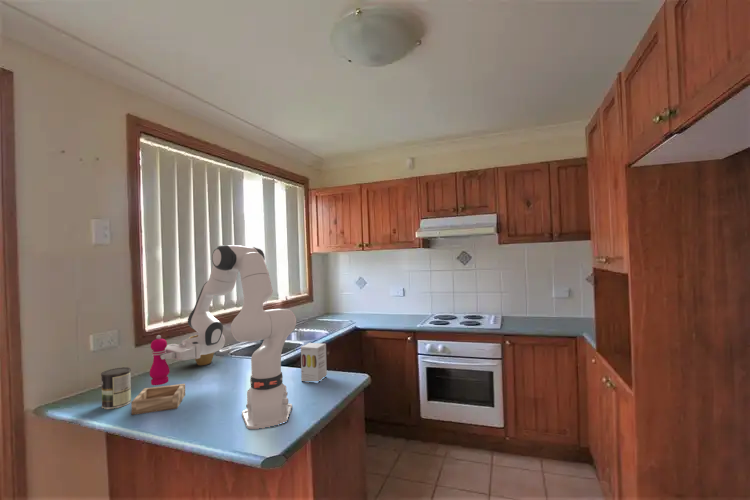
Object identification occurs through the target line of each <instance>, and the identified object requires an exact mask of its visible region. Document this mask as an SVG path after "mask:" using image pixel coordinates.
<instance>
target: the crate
mask: <svg viewBox="0 0 750 500" xmlns="http://www.w3.org/2000/svg"><path fill="white" fill-rule="evenodd" d="M185 396H186V383H177V384H170V385H162V386H161V385H159V386H154V387H144V388H143V389H142V390H141V391H140V392H139V393H138V395H136V397H134V399H133V400H131V402H130V404H131V406H130V407H131V415H132V416H133V415H139V414H141V415H142V414H148V413H154V412H155V413H156V412H163V411H169V410H170V411H171V410H177V409H178V408H179V406H180V405H181V403H182V402H183V399H184V398H185Z"/></svg>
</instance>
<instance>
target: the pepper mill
mask: <svg viewBox="0 0 750 500" xmlns="http://www.w3.org/2000/svg"><path fill="white" fill-rule="evenodd" d="M155 338H156V339H154V340H152V341H151V343H150V349H151V350H152V352H151V353H152V355H153V357H152V358H153V359H152V360H153V361H152V365H151V367H150V369H149V377H150V378H152V379H151V380H150V384H151V385H152V386H161V385H165V384H167V383H169V376H168V375H169V374H170V366H169V365H168V363H167V360H166V359H160V355H162V354H165V353H166V349H165V348H166V347H167V345H168V343H167V340H166V339H164V338H162V335H160V334H158V335H156V337H155Z"/></svg>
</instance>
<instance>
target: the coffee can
mask: <svg viewBox="0 0 750 500" xmlns="http://www.w3.org/2000/svg"><path fill="white" fill-rule="evenodd" d="M131 370H132V368H131V367H128V366H127V367H115V368H110V369H108V370H104V371H103V372H101V373H100V376H101V377H100V378H101V409H103V408H104V409H103V410H114V408H115V409H118V408H121V407H125V406H127V405H129V404H131V402H132V392H131V391H132V388H131V387H132V386H131V383H132V382H131V381H132V380H131Z"/></svg>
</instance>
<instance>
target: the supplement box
mask: <svg viewBox="0 0 750 500" xmlns="http://www.w3.org/2000/svg"><path fill="white" fill-rule="evenodd" d="M300 365H301V366H300V371H301V372H300V373H301V375H300V377H301V381H319V380H321V379H322V378H323V377H325V376H326V375H328V374H327V373H328V372H327V343H321V342H319V343H318V342H317V343H316V342H308V343H306V344H304V345H302V346H301V347H300Z"/></svg>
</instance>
